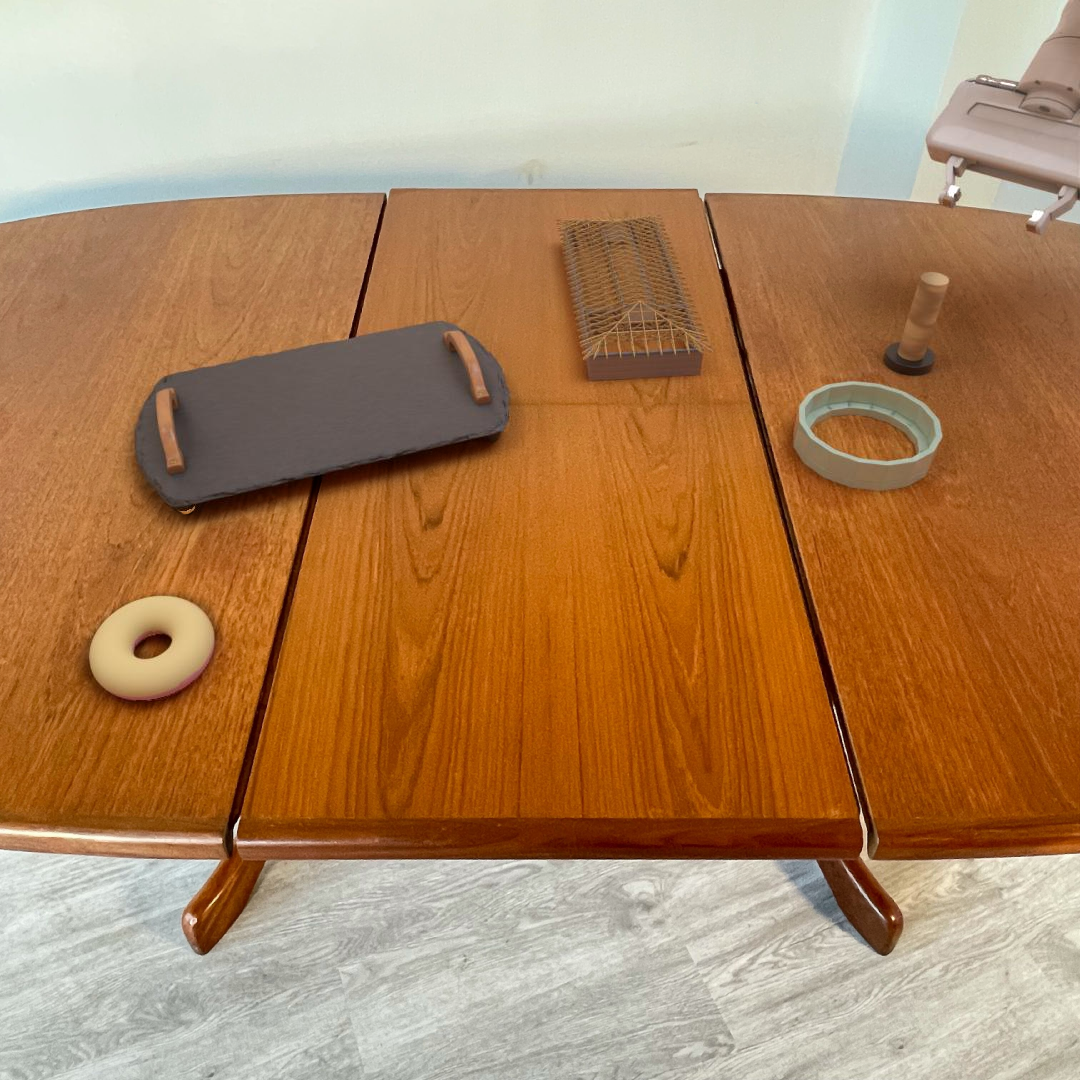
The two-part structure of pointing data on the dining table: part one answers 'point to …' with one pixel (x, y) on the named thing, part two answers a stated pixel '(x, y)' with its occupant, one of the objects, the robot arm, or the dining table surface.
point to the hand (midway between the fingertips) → (987, 217)
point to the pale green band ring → (875, 404)
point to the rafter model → (636, 314)
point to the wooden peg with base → (918, 328)
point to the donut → (160, 673)
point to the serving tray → (317, 411)
